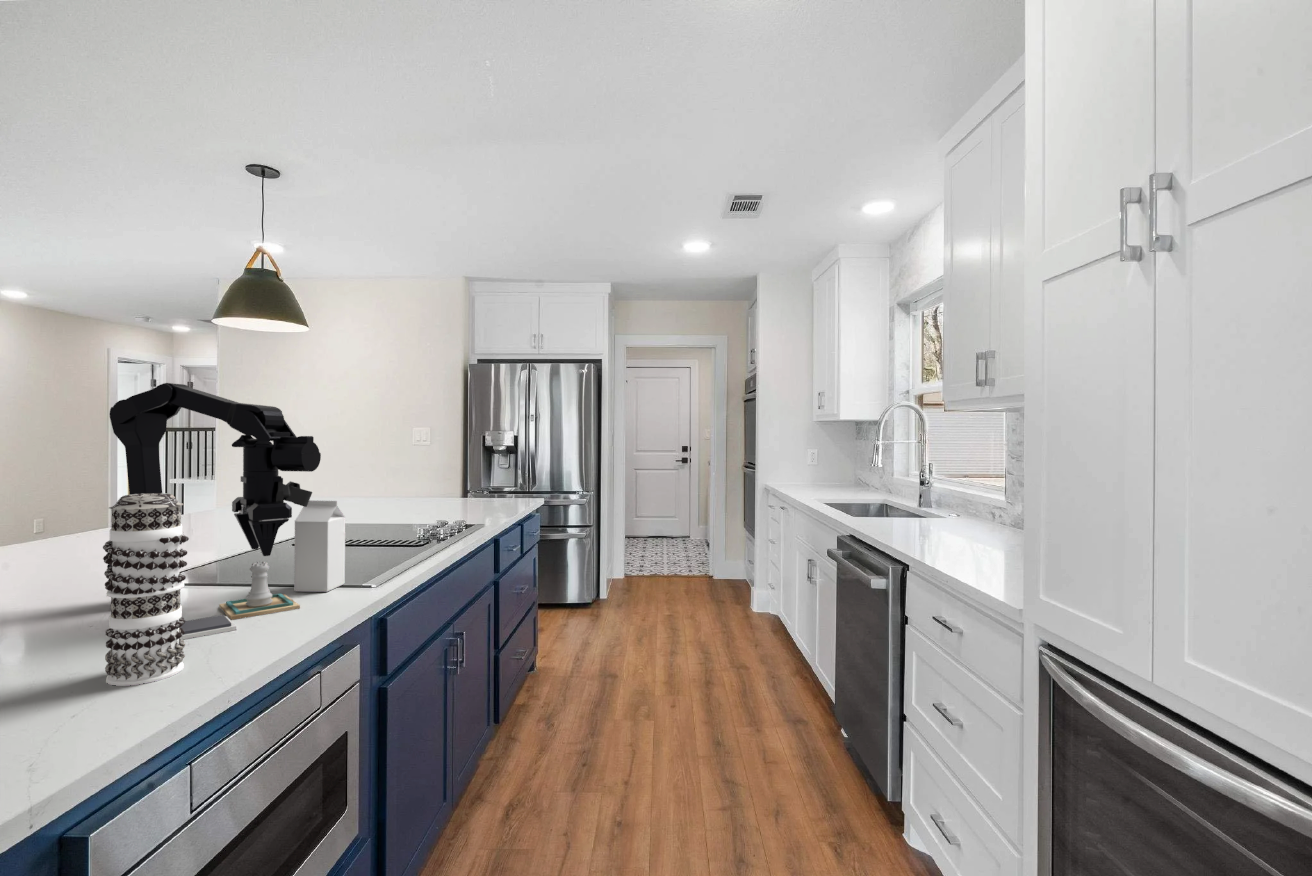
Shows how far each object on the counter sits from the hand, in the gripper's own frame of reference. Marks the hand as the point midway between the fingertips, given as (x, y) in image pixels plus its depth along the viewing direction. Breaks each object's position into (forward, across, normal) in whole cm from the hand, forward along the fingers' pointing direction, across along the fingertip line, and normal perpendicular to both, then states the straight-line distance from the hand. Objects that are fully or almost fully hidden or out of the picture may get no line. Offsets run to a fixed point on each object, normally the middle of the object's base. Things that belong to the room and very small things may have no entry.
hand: (260, 552), depth 118 cm
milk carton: (+11, +9, -13) cm, 19 cm away
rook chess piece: (+10, 0, 0) cm, 10 cm away
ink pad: (+11, -8, +10) cm, 17 cm away
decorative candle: (+11, -26, +19) cm, 34 cm away
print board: (+11, 0, 0) cm, 11 cm away
